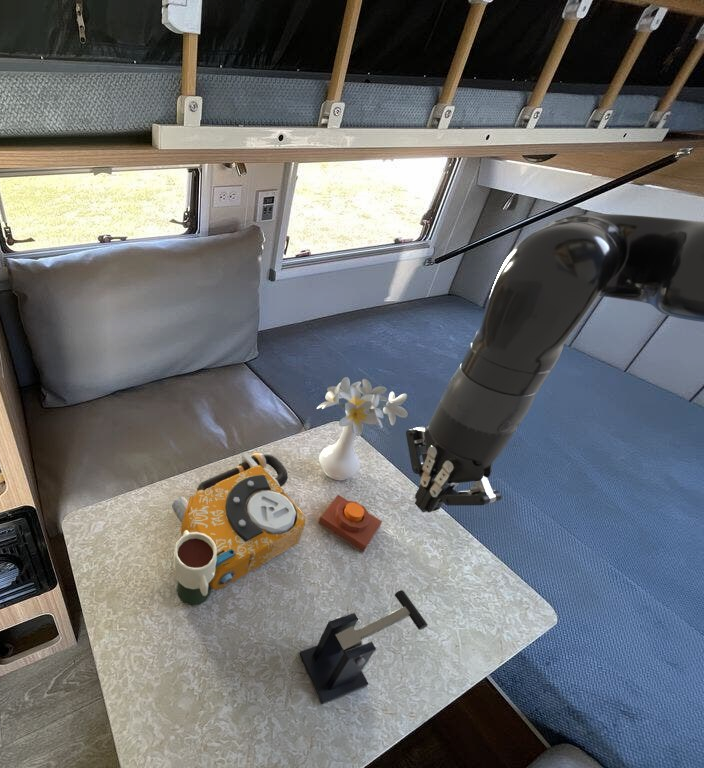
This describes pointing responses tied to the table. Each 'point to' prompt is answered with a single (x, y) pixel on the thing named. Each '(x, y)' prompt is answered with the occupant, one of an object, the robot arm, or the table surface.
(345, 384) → the flower vase
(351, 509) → the button
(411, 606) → the lever
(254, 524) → the device
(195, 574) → the character mug
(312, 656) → the bracket
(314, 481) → the table surface
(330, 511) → the block
